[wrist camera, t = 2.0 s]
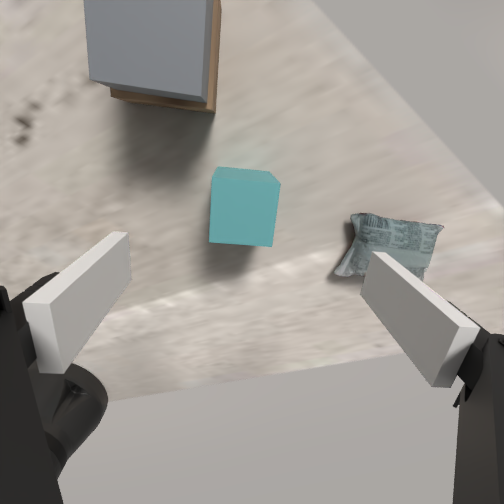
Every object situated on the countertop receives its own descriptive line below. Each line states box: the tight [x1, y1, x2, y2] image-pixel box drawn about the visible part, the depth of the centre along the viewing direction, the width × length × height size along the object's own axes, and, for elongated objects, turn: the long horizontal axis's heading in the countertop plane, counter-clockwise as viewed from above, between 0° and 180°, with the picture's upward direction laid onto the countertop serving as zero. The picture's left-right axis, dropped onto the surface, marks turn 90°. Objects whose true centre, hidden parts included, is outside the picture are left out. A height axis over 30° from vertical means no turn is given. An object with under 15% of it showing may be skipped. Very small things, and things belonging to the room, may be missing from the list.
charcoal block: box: [84, 0, 214, 103], centre depth 22 cm, size 8×8×5 cm
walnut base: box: [110, 0, 221, 113], centre depth 26 cm, size 9×9×5 cm
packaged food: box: [334, 213, 444, 282], centre depth 35 cm, size 9×12×5 cm
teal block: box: [209, 167, 280, 247], centre depth 30 cm, size 6×6×9 cm
